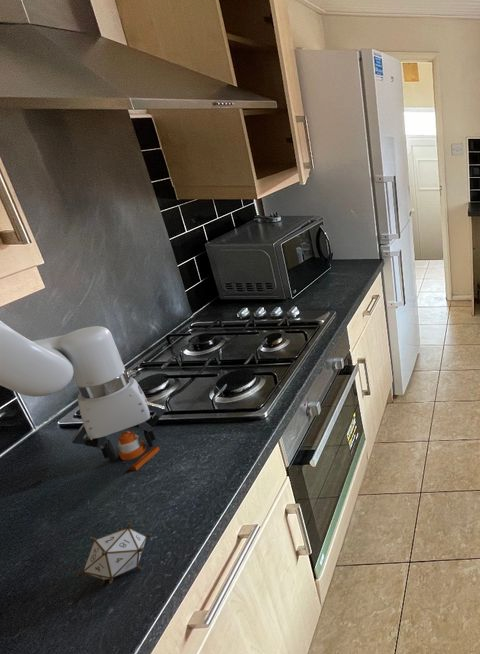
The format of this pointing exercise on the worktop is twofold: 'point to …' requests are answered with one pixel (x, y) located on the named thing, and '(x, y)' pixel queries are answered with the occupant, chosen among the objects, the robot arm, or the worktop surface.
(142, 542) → the game die
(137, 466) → the cone
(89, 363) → the robot arm
